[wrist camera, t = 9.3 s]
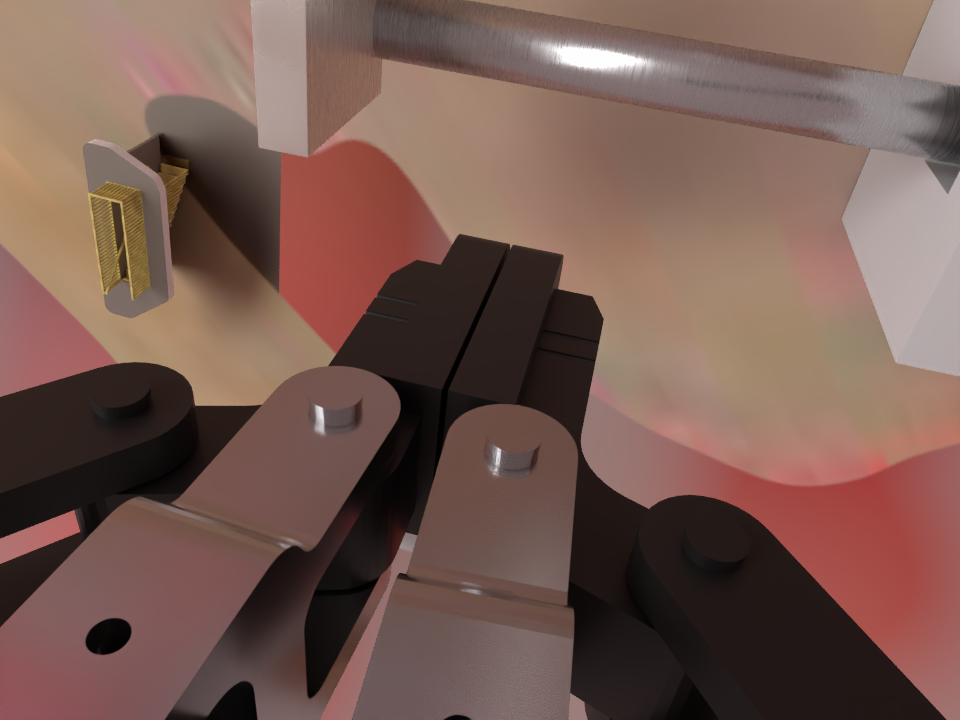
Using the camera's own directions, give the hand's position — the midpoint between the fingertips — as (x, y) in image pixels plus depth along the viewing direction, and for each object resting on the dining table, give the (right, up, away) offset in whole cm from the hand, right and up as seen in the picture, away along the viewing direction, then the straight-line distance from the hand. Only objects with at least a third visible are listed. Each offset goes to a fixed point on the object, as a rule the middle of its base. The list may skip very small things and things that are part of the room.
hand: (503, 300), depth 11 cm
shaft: (+8, +9, +16) cm, 20 cm away
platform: (-17, +8, +33) cm, 38 cm away
